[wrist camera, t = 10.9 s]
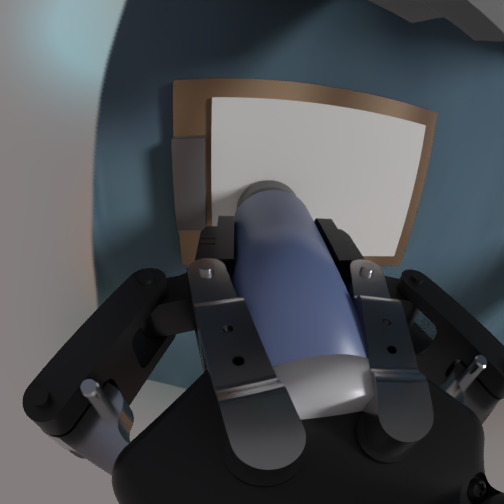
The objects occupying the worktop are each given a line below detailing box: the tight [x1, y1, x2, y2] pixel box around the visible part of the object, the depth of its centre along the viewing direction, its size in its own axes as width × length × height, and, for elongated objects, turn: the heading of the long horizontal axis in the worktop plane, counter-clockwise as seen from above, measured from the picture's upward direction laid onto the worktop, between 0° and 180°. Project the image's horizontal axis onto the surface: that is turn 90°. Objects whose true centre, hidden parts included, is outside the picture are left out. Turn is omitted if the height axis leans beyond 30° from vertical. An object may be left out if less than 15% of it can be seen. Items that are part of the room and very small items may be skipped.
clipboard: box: [171, 78, 437, 266], centre depth 15 cm, size 15×11×2 cm
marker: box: [231, 180, 374, 420], centre depth 11 cm, size 4×4×12 cm
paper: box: [211, 97, 426, 256], centre depth 15 cm, size 12×9×1 cm
